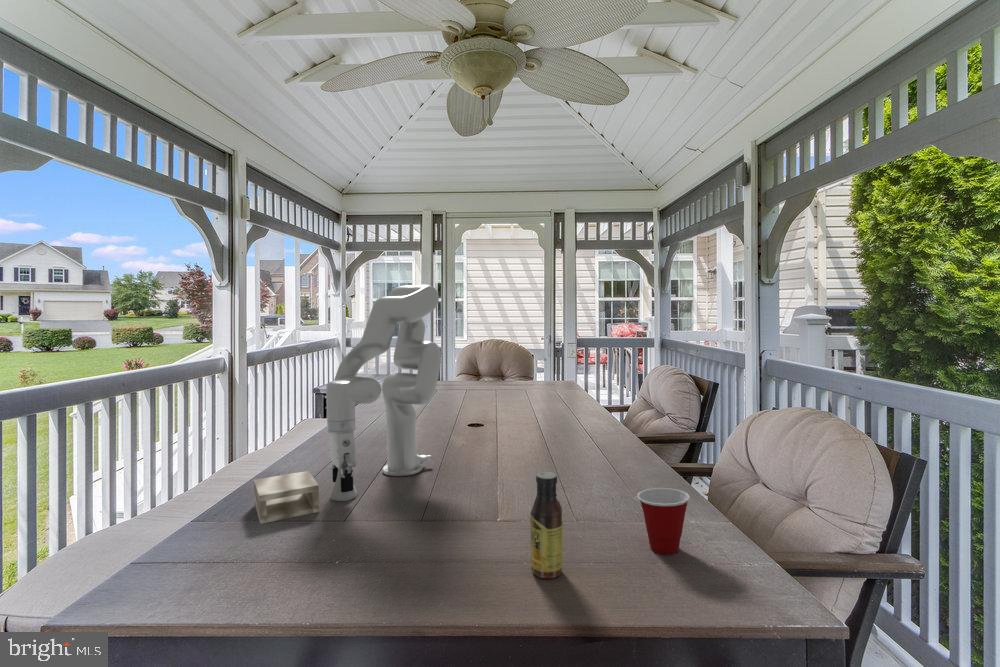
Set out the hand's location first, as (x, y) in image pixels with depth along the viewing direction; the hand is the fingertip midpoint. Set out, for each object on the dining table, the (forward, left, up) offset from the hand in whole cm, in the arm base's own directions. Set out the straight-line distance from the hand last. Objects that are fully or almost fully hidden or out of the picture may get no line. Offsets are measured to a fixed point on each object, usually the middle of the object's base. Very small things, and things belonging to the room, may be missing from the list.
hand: (342, 486), depth 144 cm
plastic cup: (-51, +68, -3) cm, 85 cm away
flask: (0, 0, -4) cm, 4 cm away
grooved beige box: (+15, 0, -3) cm, 15 cm away
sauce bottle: (-24, +63, -3) cm, 68 cm away
